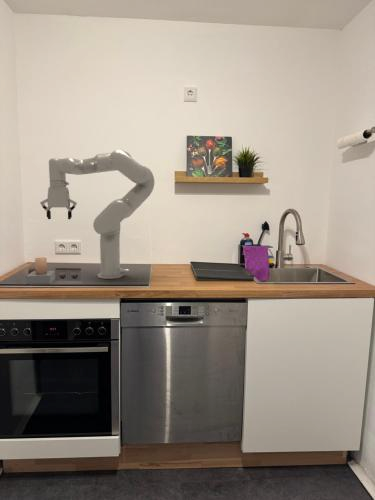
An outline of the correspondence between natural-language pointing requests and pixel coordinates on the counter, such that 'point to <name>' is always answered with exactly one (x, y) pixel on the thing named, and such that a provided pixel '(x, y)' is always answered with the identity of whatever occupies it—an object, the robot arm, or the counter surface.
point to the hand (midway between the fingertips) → (59, 219)
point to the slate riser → (41, 278)
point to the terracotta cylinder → (41, 265)
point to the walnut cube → (30, 270)
